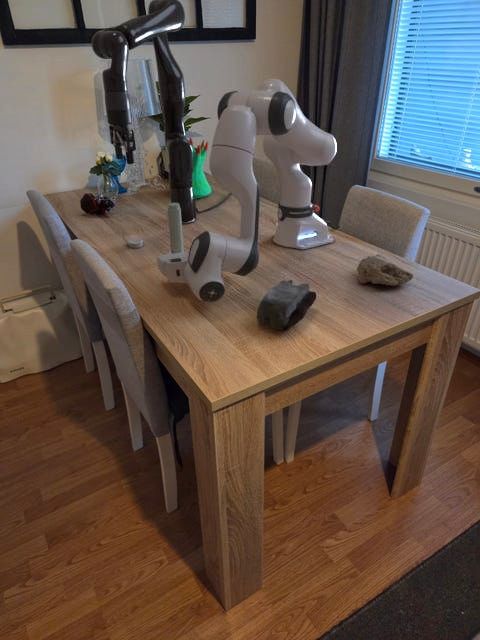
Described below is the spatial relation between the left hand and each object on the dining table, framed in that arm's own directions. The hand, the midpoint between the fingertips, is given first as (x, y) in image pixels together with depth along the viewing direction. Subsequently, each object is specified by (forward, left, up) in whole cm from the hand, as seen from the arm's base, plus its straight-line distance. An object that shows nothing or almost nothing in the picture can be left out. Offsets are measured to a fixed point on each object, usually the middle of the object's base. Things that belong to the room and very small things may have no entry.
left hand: (125, 161), depth 147 cm
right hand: (+3, +30, -22) cm, 37 cm away
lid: (0, 0, -28) cm, 28 cm away
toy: (-11, -40, -30) cm, 51 cm away
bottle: (-3, +19, -30) cm, 35 cm away
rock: (+5, +71, -30) cm, 77 cm away
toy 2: (-58, -31, -30) cm, 72 cm away
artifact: (-33, +79, -30) cm, 91 cm away
